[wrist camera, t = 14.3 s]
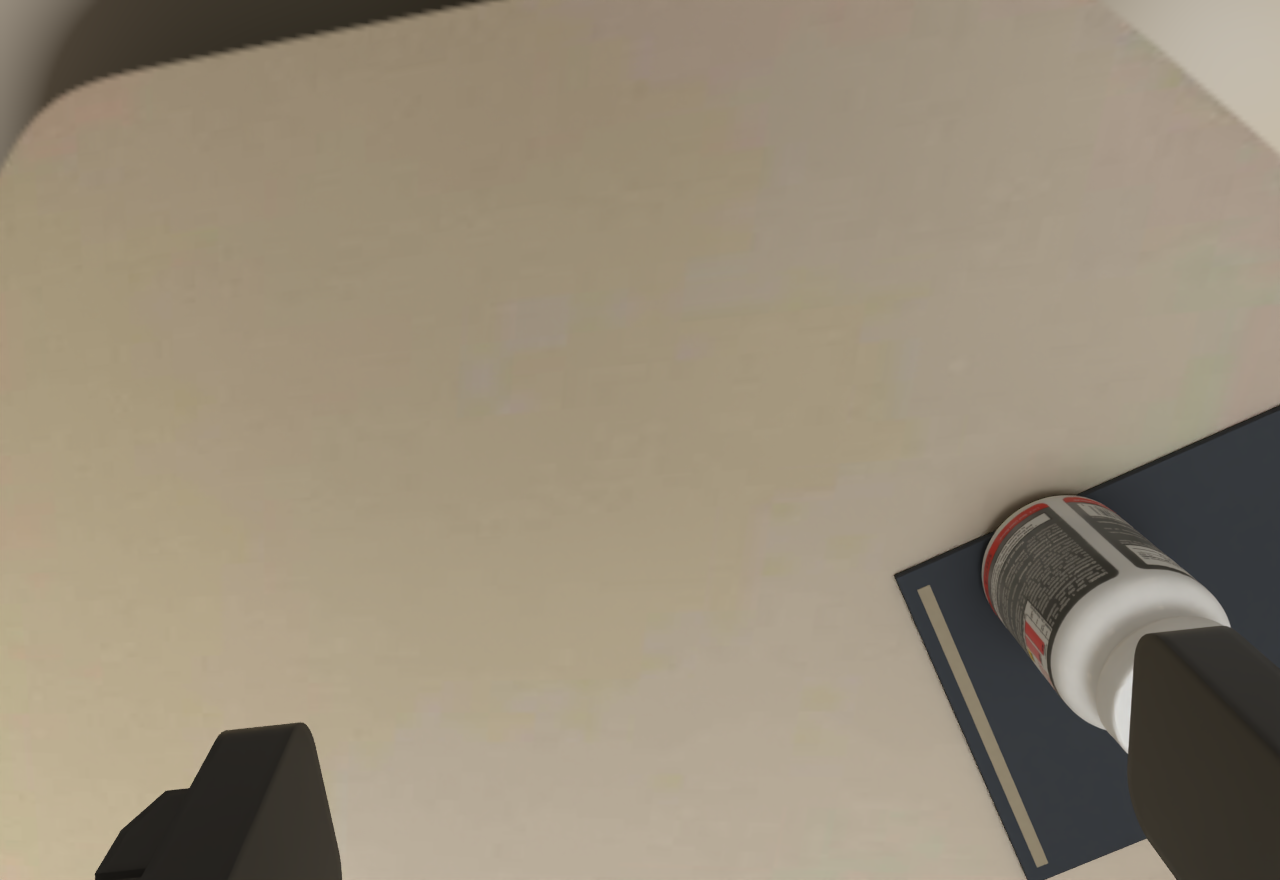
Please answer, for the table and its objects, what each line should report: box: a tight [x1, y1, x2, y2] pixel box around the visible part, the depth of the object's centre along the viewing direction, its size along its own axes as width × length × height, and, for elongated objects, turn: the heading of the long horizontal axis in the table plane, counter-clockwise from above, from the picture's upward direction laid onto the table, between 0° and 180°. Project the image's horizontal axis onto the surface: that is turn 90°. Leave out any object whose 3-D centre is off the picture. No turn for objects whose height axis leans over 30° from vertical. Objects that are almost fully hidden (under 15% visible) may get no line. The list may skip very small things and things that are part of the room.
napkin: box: [895, 406, 1280, 880], centre depth 43 cm, size 16×16×1 cm
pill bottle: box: [982, 495, 1231, 754], centre depth 37 cm, size 6×6×10 cm
